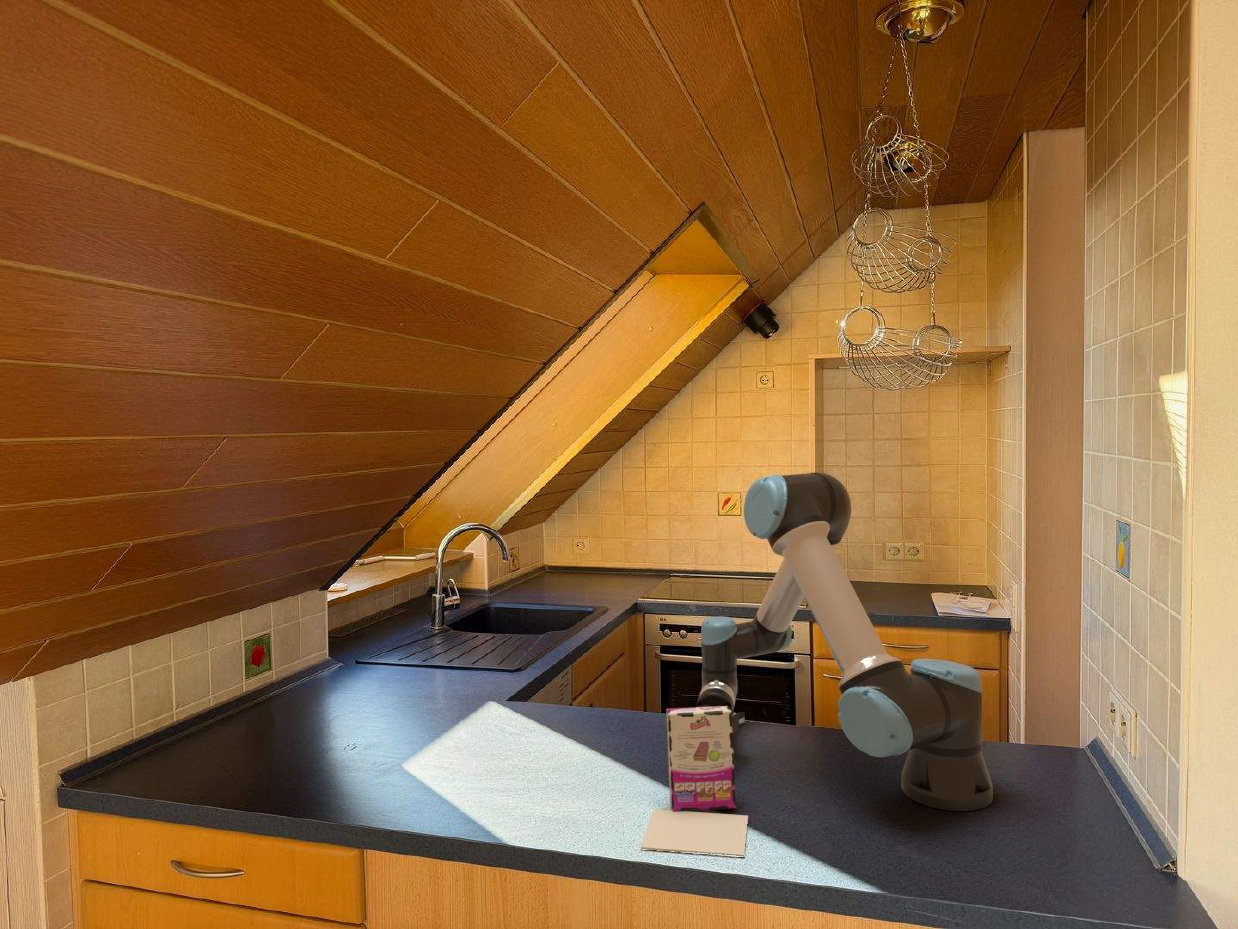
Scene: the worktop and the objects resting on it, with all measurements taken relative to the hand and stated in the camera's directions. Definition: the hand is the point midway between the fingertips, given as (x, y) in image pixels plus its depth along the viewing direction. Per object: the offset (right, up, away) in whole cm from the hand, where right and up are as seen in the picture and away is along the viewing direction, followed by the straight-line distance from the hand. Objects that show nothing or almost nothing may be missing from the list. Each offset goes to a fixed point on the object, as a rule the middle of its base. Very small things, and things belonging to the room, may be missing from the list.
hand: (704, 748), depth 151 cm
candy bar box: (-1, -8, -5) cm, 10 cm away
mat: (-3, -9, -15) cm, 17 cm away
